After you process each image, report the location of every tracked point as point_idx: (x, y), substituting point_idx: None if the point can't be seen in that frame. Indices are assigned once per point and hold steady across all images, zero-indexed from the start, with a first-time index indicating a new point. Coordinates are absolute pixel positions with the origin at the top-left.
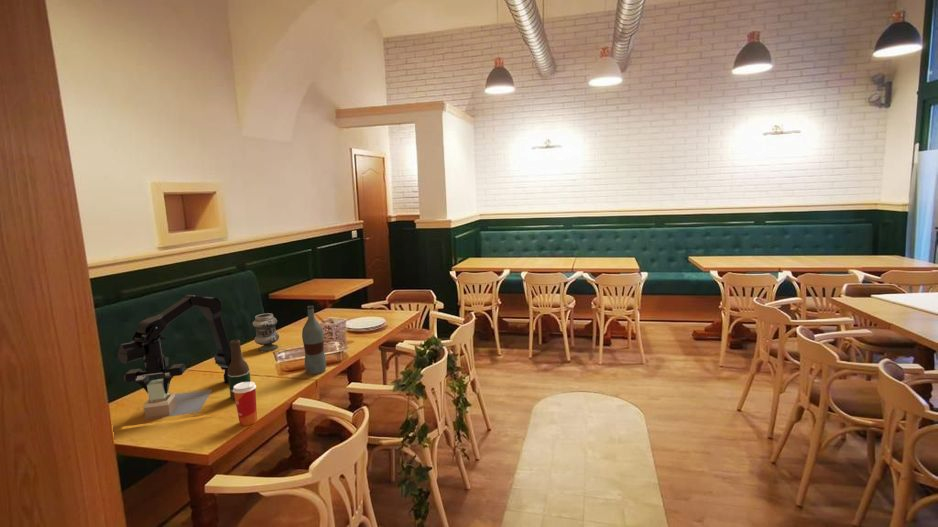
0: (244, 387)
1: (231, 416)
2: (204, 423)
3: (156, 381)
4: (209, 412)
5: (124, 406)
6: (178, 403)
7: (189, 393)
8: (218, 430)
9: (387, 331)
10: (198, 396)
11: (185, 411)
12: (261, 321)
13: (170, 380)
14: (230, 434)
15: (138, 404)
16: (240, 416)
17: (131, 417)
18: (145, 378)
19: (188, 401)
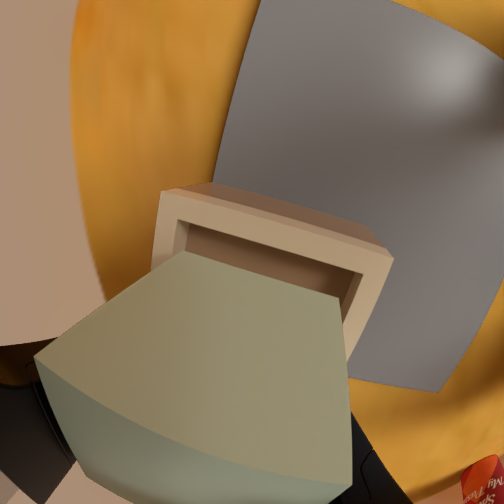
0: None
1: (484, 433)
2: (411, 450)
3: (157, 486)
4: (469, 379)
5: (90, 35)
6: (381, 181)
7: (435, 36)
8: (414, 485)
9: None
10: (492, 141)
11: (396, 355)
12: None
13: (389, 496)
14: (420, 498)
15: (139, 25)
16: (463, 499)
17: (119, 202)
18: (3, 472)
19: (442, 190)
